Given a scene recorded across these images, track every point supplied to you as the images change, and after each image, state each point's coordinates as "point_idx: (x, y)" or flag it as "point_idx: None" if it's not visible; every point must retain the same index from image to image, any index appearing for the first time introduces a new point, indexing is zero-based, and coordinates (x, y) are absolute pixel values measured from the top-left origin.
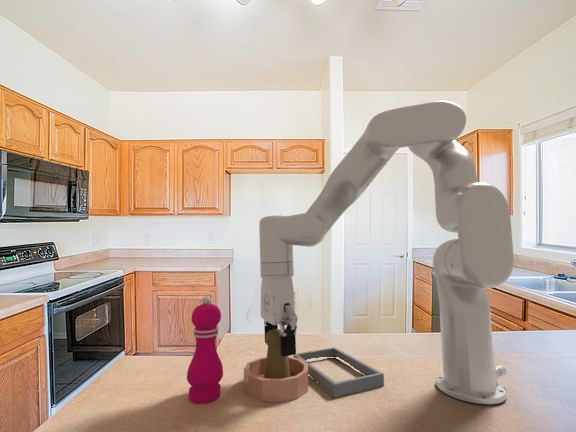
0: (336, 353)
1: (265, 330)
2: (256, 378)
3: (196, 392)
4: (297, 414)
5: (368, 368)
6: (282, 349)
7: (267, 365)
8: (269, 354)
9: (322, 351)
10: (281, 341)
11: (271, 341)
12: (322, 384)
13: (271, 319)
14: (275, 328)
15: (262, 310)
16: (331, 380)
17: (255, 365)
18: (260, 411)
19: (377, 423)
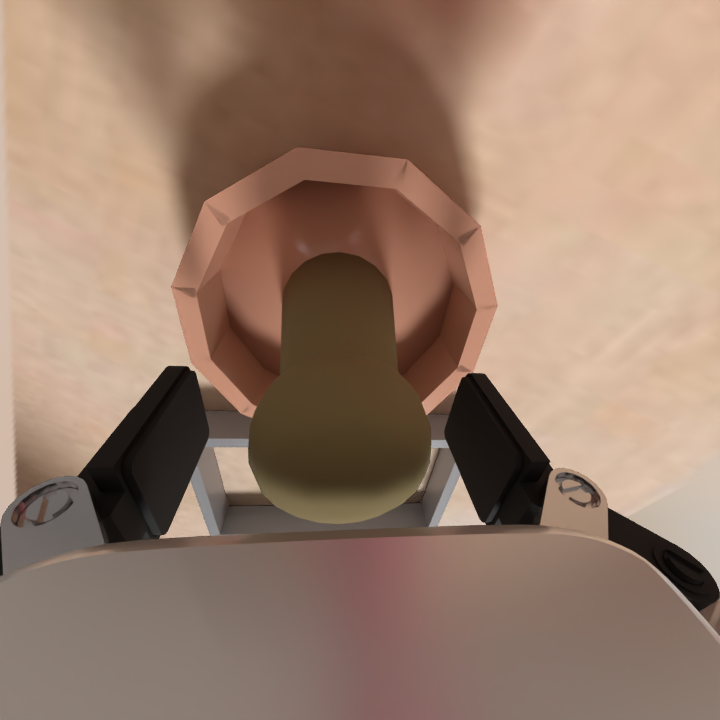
0: (410, 519)
1: (511, 434)
2: (243, 179)
3: None
4: (105, 272)
5: (261, 531)
6: (150, 394)
7: (332, 293)
8: (322, 329)
9: (436, 504)
10: (113, 433)
11: (280, 386)
12: None
13: (76, 642)
14: (478, 494)
15: (634, 711)
16: (208, 443)
17: (459, 266)
18: (152, 143)
19: (34, 426)
